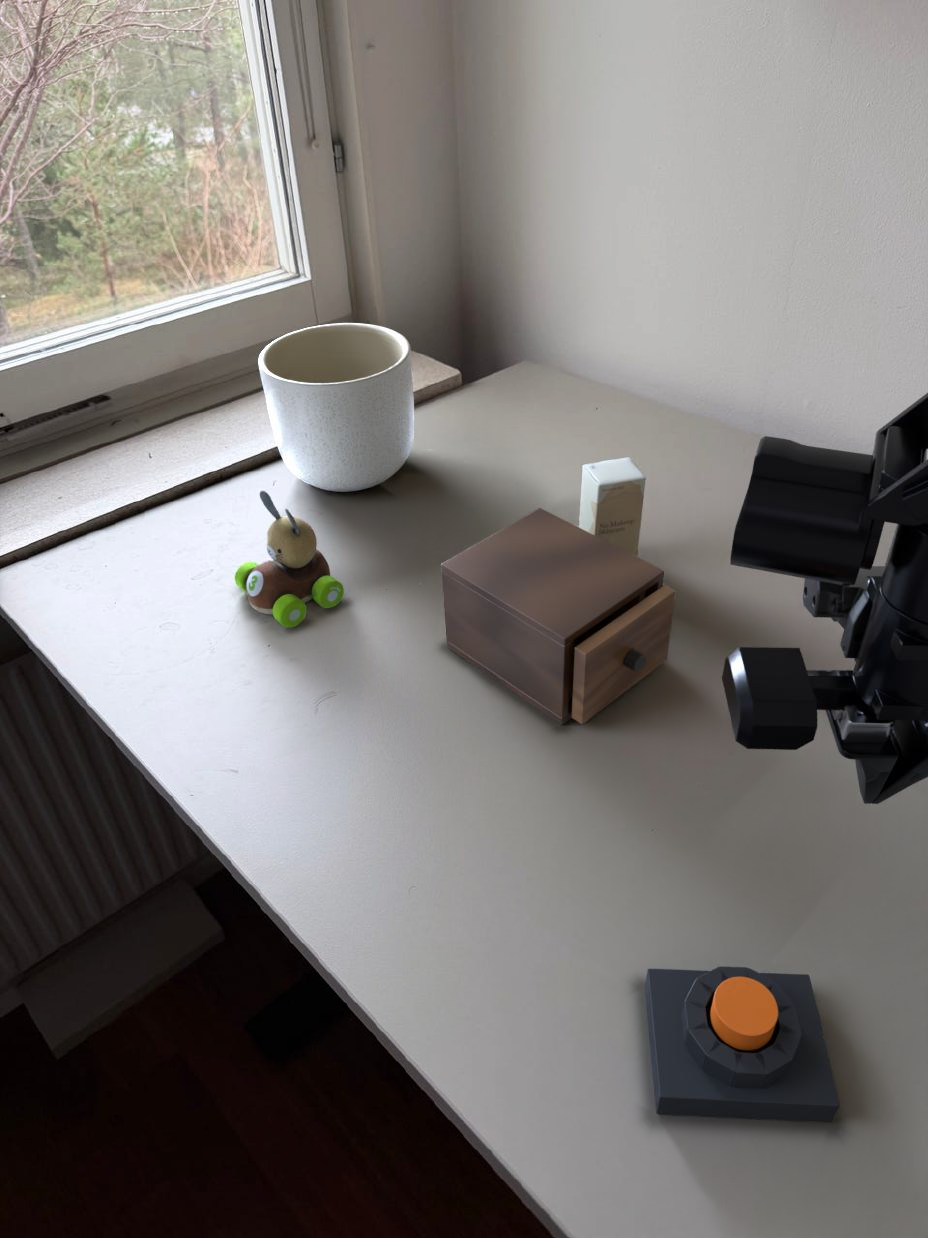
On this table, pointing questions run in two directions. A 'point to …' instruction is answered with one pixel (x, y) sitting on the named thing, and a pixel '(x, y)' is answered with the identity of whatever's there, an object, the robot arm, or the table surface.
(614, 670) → the brown wooden drawer
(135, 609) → the table surface
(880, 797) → the robot arm
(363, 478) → the planter
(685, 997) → the switch block
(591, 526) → the box
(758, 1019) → the button
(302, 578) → the toy car
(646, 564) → the nightstand
